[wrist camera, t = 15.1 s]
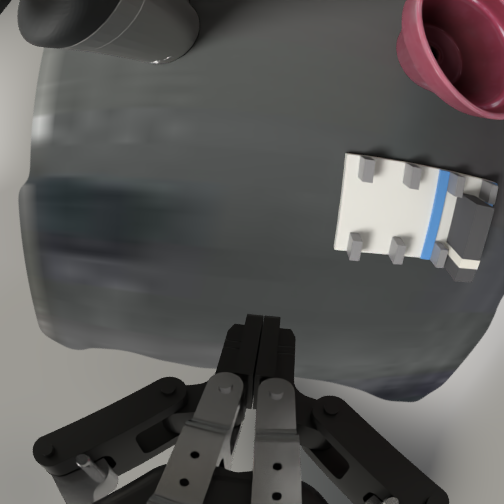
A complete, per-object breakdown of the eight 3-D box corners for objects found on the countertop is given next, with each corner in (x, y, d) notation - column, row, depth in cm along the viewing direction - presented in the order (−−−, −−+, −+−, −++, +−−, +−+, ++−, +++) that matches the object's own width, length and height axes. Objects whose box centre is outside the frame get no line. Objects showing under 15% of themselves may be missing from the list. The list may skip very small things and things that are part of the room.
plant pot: (491, 70, 24) (554, 69, 12) (436, 135, 30) (494, 153, 18) (416, -13, 21) (460, -50, 10) (351, 49, 27) (381, 20, 16)
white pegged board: (345, 152, 33) (350, 157, 30) (492, 181, 31) (506, 188, 27) (333, 246, 38) (336, 259, 35) (472, 259, 36) (482, 271, 33)
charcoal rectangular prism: (457, 192, 31) (476, 204, 27) (475, 195, 31) (495, 208, 27) (439, 262, 36) (454, 281, 31) (456, 263, 36) (472, 282, 31)
